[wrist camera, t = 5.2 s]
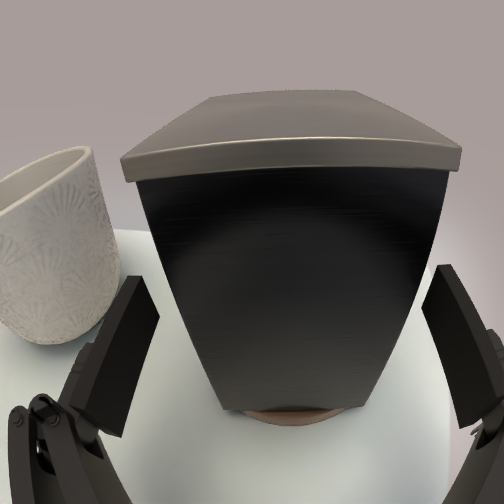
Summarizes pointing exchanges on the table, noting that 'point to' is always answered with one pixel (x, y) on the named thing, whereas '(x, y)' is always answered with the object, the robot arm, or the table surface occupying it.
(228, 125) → the bin
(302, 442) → the table surface
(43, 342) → the planter
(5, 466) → the table surface
